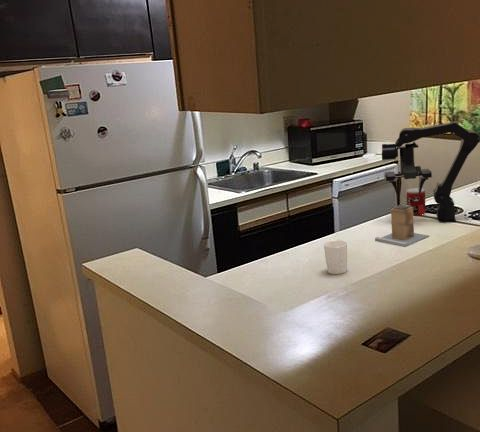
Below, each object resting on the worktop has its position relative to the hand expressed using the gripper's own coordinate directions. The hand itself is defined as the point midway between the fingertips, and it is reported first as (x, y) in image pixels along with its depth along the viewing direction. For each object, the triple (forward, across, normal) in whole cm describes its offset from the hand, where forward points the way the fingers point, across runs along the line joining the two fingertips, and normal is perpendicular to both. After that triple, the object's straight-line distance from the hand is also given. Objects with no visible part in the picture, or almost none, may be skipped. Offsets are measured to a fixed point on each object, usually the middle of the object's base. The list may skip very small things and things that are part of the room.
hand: (408, 194), depth 237 cm
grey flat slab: (+12, -6, -23) cm, 27 cm away
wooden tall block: (+12, -6, -23) cm, 26 cm away
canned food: (+12, +5, +12) cm, 18 cm away
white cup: (+12, -33, -55) cm, 65 cm away
